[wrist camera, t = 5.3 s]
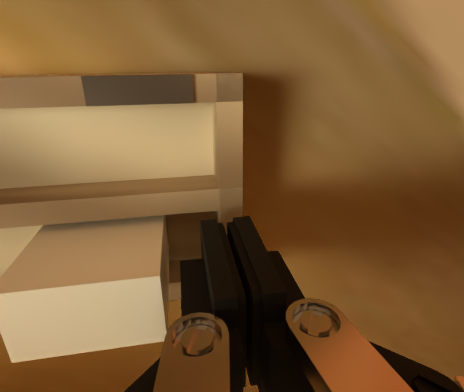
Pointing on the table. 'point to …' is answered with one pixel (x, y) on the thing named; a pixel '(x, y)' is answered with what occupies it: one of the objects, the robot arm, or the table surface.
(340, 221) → the table surface
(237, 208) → the wooden shelf rack
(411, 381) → the robot arm
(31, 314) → the ivory tab
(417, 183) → the table surface
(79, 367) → the table surface
